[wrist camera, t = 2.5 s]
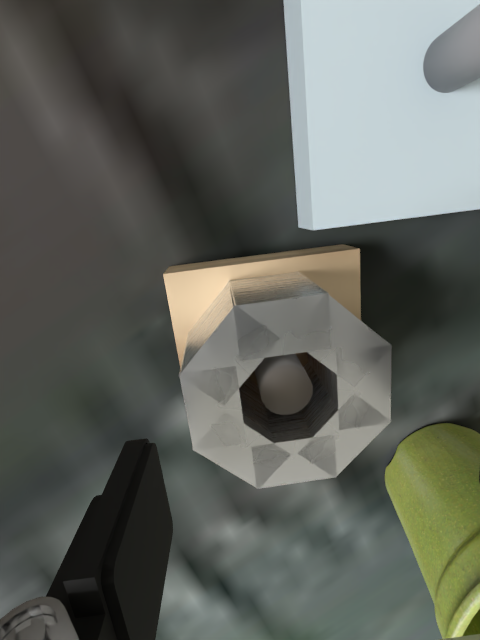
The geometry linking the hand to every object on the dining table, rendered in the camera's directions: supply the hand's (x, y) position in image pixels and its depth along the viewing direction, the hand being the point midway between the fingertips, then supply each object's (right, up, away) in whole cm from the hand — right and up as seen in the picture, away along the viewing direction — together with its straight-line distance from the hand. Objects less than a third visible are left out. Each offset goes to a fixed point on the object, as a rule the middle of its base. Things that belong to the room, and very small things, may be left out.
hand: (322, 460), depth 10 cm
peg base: (+5, +14, +5) cm, 15 cm away
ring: (-1, +3, +5) cm, 6 cm away
